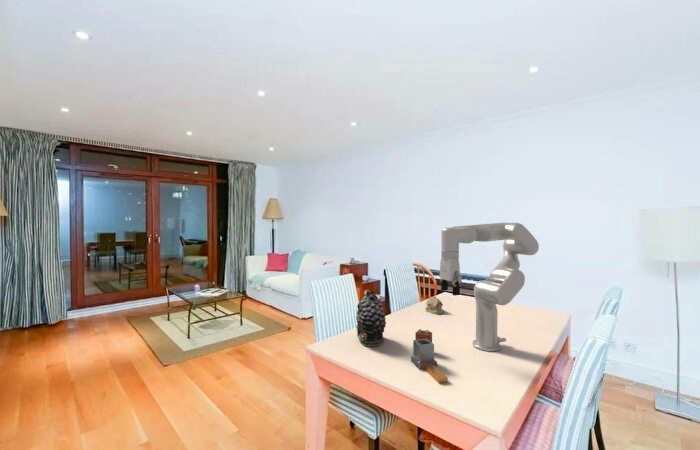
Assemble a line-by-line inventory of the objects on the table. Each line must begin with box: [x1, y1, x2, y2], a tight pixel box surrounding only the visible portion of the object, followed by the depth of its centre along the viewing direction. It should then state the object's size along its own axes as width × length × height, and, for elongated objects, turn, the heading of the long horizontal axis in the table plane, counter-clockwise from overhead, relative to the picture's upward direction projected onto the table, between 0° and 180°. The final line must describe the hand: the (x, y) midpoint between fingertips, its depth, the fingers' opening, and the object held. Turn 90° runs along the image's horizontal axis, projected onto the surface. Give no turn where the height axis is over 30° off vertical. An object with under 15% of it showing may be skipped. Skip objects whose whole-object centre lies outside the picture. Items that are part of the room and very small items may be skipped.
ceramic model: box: [425, 296, 445, 315], centre depth 213 cm, size 14×11×10 cm
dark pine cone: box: [355, 289, 387, 347], centre depth 163 cm, size 21×15×25 cm
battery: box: [414, 328, 433, 343], centre depth 149 cm, size 4×7×10 cm, turn 59°
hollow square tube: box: [412, 339, 435, 363], centre depth 136 cm, size 6×6×7 cm
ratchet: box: [410, 355, 449, 385], centre depth 130 cm, size 20×8×8 cm, turn 14°
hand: (450, 292), depth 145 cm, fingers open, 9 cm apart
